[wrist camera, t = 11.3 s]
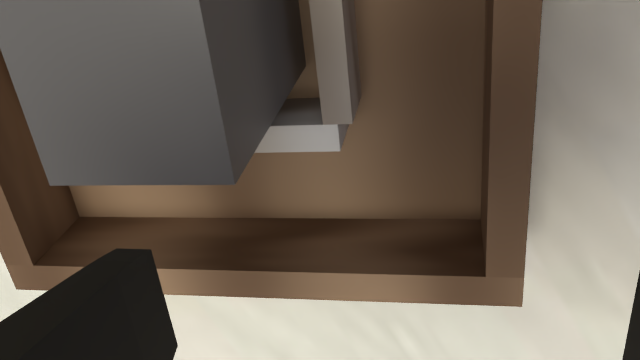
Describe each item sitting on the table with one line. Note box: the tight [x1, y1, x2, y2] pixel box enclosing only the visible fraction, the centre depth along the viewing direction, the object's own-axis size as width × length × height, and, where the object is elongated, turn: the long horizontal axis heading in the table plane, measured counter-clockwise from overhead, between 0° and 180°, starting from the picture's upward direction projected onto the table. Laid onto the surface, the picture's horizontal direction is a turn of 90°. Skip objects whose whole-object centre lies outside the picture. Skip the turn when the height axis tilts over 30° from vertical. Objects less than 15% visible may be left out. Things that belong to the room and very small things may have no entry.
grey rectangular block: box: [0, 0, 306, 186], centre depth 14 cm, size 4×4×7 cm
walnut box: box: [0, 0, 542, 307], centre depth 16 cm, size 16×16×4 cm
